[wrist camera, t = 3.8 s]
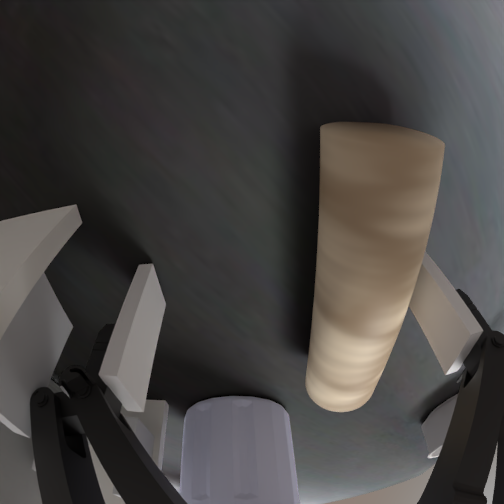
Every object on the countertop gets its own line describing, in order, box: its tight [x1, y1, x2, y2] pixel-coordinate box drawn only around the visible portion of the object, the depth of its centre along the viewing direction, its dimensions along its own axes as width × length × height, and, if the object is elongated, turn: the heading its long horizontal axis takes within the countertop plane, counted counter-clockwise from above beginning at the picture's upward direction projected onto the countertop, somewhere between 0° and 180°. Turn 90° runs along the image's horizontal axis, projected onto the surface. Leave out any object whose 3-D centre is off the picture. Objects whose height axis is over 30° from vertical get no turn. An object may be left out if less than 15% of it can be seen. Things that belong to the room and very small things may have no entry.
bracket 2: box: [32, 400, 169, 504], centre depth 16 cm, size 4×9×11 cm, turn 94°
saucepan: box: [421, 394, 458, 458], centre depth 24 cm, size 12×20×6 cm, turn 12°
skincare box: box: [0, 379, 62, 504], centre depth 15 cm, size 8×7×16 cm
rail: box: [305, 122, 445, 412], centre depth 13 cm, size 15×5×5 cm
